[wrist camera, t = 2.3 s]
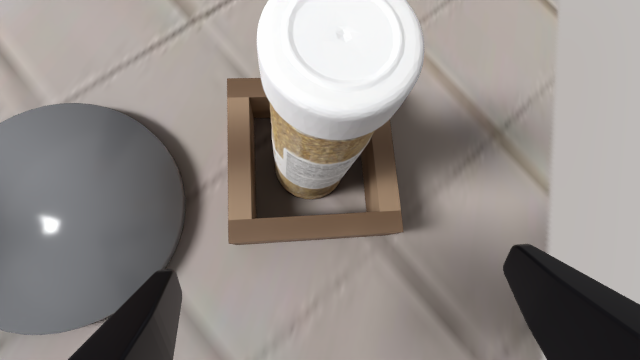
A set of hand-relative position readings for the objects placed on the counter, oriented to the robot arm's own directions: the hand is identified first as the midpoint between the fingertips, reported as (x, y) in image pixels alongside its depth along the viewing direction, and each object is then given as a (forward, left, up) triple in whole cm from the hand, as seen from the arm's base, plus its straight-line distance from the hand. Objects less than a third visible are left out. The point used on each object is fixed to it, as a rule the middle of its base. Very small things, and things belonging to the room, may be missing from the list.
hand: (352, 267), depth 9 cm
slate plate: (-3, +14, -12) cm, 19 cm away
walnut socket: (+5, +2, -12) cm, 13 cm away
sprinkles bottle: (+5, +2, -12) cm, 13 cm away
